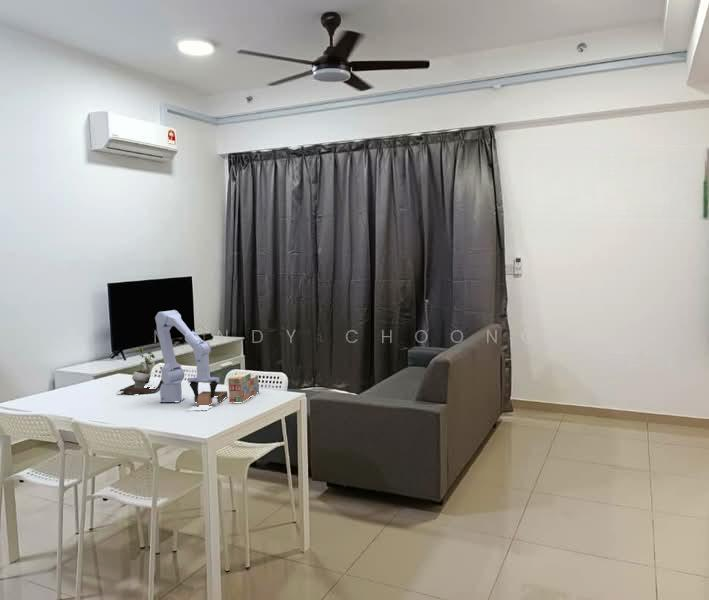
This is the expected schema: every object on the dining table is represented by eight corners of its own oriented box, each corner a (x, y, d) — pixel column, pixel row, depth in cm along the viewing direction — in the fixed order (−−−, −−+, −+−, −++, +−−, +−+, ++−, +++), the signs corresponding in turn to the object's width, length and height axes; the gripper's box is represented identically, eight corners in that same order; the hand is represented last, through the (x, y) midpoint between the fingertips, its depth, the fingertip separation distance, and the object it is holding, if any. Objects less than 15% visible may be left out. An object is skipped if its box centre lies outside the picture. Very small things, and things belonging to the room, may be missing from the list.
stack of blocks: (247, 392, 284) (246, 368, 283) (259, 393, 282) (258, 369, 282) (229, 403, 263) (228, 377, 262) (241, 403, 262) (240, 378, 261)
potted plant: (130, 391, 305) (142, 347, 307) (163, 399, 304) (175, 354, 307) (115, 394, 285) (128, 346, 287) (150, 402, 285) (163, 354, 287)
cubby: (194, 403, 265) (194, 397, 264) (203, 397, 276) (202, 391, 276) (219, 403, 263) (219, 396, 263) (227, 397, 275) (227, 391, 274)
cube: (198, 406, 258) (197, 396, 258) (202, 403, 263) (201, 393, 263) (208, 406, 258) (208, 396, 258) (212, 403, 263) (211, 393, 263)
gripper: (221, 366, 263) (222, 395, 264) (191, 367, 265) (193, 395, 265) (216, 369, 256) (217, 398, 257) (185, 370, 258) (187, 399, 258)
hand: (204, 397), depth 261 cm, fingers open, 7 cm apart
